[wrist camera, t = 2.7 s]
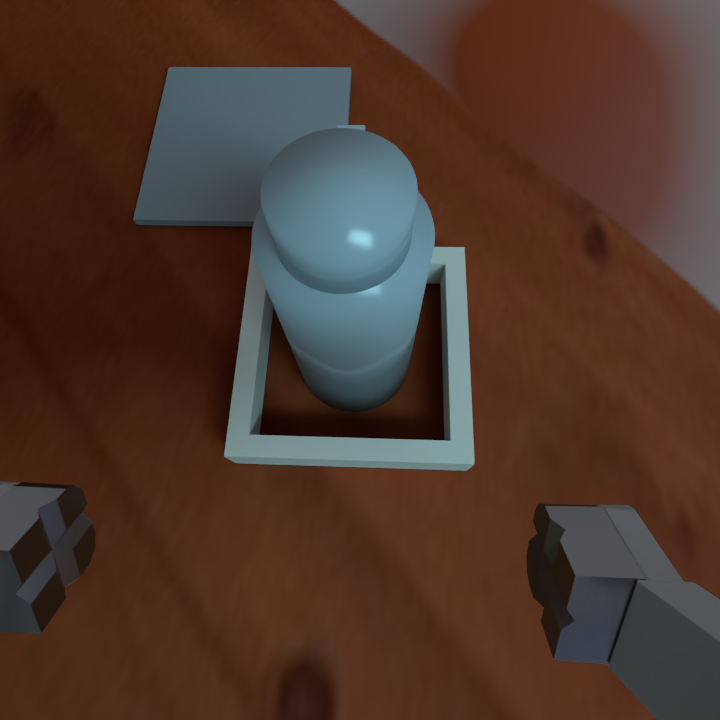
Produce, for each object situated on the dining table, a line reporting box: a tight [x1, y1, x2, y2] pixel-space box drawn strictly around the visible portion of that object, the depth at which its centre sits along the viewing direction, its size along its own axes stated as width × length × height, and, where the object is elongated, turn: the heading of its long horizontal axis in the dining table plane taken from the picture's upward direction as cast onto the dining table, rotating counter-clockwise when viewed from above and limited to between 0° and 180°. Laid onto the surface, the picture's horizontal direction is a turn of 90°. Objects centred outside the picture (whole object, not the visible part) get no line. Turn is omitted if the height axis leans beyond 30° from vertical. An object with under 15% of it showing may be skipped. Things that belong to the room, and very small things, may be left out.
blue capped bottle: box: [251, 125, 435, 412], centre depth 20 cm, size 6×8×13 cm
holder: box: [224, 247, 474, 471], centre depth 24 cm, size 11×11×2 cm
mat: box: [133, 67, 351, 227], centre depth 30 cm, size 12×12×1 cm
